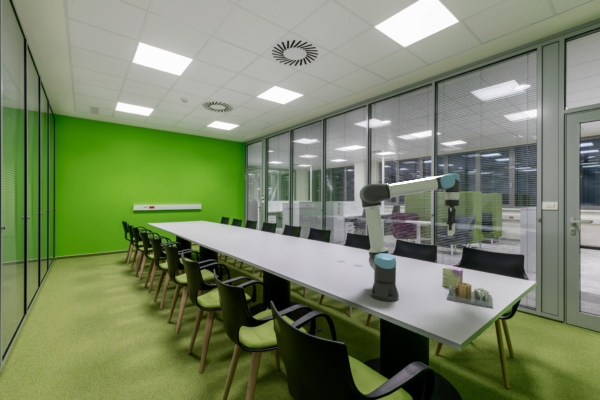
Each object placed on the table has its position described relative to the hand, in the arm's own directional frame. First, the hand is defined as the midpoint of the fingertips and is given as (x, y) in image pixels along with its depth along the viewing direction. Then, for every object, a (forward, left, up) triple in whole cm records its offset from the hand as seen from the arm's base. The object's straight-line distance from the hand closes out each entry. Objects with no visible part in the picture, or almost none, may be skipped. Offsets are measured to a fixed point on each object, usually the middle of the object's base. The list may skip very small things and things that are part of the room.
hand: (451, 234), depth 165 cm
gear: (+7, -4, -34) cm, 34 cm away
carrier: (+10, -5, -35) cm, 36 cm away
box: (0, +13, -35) cm, 37 cm away
